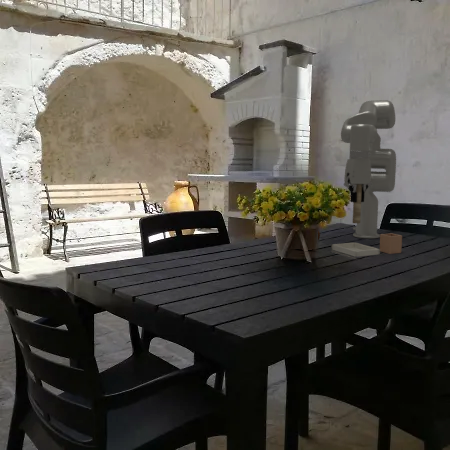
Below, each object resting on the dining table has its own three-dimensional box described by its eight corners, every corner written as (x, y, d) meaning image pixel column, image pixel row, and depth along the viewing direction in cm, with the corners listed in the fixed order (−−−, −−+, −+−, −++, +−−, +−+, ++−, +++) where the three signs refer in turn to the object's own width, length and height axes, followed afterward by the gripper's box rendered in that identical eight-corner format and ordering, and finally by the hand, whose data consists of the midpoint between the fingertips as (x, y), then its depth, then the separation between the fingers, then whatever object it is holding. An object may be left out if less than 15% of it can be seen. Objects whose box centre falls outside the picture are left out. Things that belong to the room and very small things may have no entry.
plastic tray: (331, 251, 216) (331, 244, 216) (354, 249, 221) (354, 242, 221) (355, 259, 202) (355, 251, 201) (379, 256, 207) (380, 249, 206)
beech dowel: (351, 222, 210) (352, 183, 207) (357, 222, 211) (358, 183, 209) (355, 223, 207) (357, 183, 205) (361, 223, 208) (363, 183, 206)
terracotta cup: (379, 253, 213) (380, 234, 211) (390, 252, 215) (391, 233, 214) (389, 256, 207) (390, 236, 206) (401, 255, 210) (402, 235, 208)
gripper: (369, 155, 212) (367, 200, 215) (336, 155, 205) (334, 201, 208) (381, 155, 205) (379, 202, 208) (348, 155, 199) (346, 203, 201)
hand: (357, 201), depth 208 cm, fingers closed on beech dowel, 3 cm apart
